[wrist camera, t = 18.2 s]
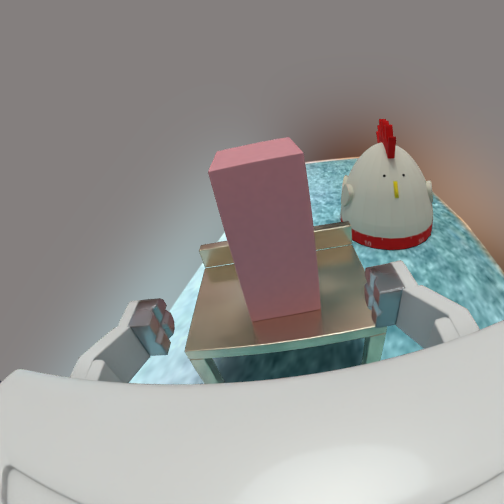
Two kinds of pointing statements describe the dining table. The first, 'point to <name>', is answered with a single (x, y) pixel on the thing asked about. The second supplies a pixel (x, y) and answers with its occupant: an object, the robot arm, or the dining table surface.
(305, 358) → the dining table surface
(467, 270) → the dining table surface
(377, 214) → the kitchen timer
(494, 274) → the dining table surface
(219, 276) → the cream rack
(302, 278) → the pink carton
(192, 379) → the dining table surface
